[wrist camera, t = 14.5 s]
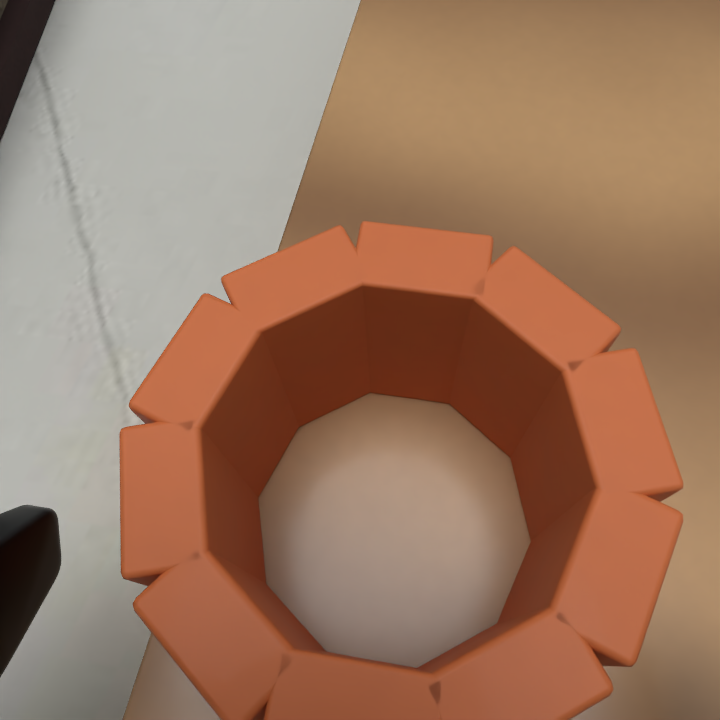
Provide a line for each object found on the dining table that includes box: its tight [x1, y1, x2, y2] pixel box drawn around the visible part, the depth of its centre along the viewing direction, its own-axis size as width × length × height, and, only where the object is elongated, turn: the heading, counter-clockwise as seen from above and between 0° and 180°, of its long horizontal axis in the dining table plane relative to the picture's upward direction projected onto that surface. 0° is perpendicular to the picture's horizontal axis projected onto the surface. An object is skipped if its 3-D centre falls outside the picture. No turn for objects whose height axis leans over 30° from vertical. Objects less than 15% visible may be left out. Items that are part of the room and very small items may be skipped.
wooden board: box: [122, 0, 720, 720], centre depth 18 cm, size 36×10×4 cm, turn 167°
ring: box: [120, 221, 683, 720], centre depth 10 cm, size 6×7×4 cm
